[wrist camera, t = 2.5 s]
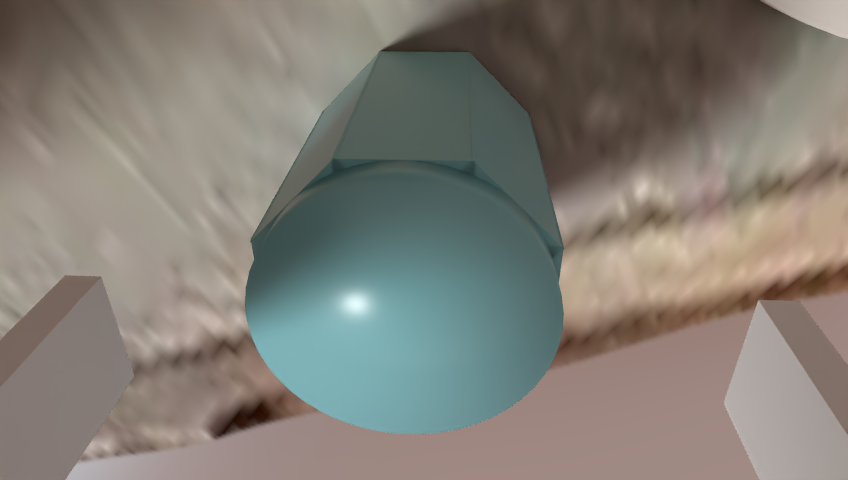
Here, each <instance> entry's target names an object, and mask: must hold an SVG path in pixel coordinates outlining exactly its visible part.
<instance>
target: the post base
mask: <svg viewBox="0 0 848 480" xmlns="http://www.w3.org/2000/svg"><path fill="white" fill-rule="evenodd" d="M760 1H762V2H763V3H765V4H767V5H768V6H770V7H772V8H774V9H776V10H778V11H780V12H782V13H784V14H786V15H788V16H790V17H793V18H795V19H797V20H799V21H801V22H803V23H805V24H808V25H810V26H813V27H816V28H818V29H821V30H823V31H826V32H828V33H831V34H834V35H836V36H839V37H842V38H847V39H848V0H760Z"/></svg>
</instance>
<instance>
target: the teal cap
mask: <svg viewBox="0 0 848 480" xmlns="http://www.w3.org/2000/svg"><path fill="white" fill-rule="evenodd" d="M250 242H251V243H252V249H253V255H254V262H253V264H252V267H251V269H250V272H249V276H248V281H247V285H246V296H245V307H246V316H247V322H248V326H249V329H250V333H251V336H252V339H253V341H254V343H255V345H256V348H257V350H258V352H259V353H260V355H261V357H262V358H263V360H264V361H265V363H266V365H267V366H268V367H269V368H270V370H271V371H272V372H273V373H274V375H275V376H276V377H277V378H278V379H279V380H280V381H281V382H282V383H283V384H284V385H285V386H286V387H287V388H288V389H289V390H290V391H291V392H293V393H294V394H295V395H297V396H298V397H299V398H301V399H302V400H303V401H305V402H306V403H308V404H310V405H311V406H313V407H314V408H316V409H318V410H319V411H321V412H323V413H325V414H328V415H330V416H332V417H334V418H336V419H339V420H341V421H344V422H347V423H349V424H352V425H356V426H359V427H363V428H367V429H371V430H377V431H382V432H388V433H399V434H429V433H439V432H445V431H451V430H456V429H461V428H464V427H468V426H471V425H474V424H477V423H480V422H482V421H485V420H487V419H489V418H492V417H494V416H496V415H498V414H499V413H501V412H503V411H505V410H507V409H508V408H510V407H511V406H513V405H514V404H515V403H517V402H518V401H520V400H521V399H522V398H523V397H524V396H525V395H527V394H528V393H529V392H530V391H531V390H532V389H533V388H534V387H535V386H536V385H537V383H538V382H539V381H540V380H541V378H542V377H543V376H544V375H545V373H546V371H547V370H548V368H549V367H550V365H551V363H552V362H553V359H554V357H555V354H556V352H557V350H558V347H559V344H560V339H561V335H562V331H563V315H564V313H563V304H562V296H561V291H560V287H559V277H560V269H561V262H562V254H563V250H564V246H563V242H562V238H561V234H560V230H559V227H558V223H557V219H556V215H555V211H554V207H553V203H552V200H551V196H550V192H549V188H548V184H547V180H546V176H545V173H544V169H543V165H542V161H541V157H540V153H539V149H538V146H537V142H536V138H535V134H534V130H533V126H532V122H531V119H530V115H529V113H527V112H526V110H525V109H524V108H523V107H522V106H521V105H520V104H519V103H518V102H517V101H516V100H515V99H514V98H513V97H512V96H511V95H510V94H509V93H508V92H507V91H506V89H505V88H504V87H503V86H502V85H501V84H500V83H499V82H498V81H497V80H496V79H495V78H494V77H493V76H492V75H491V74H490V73H489V72H488V71H487V70H486V68H485V67H484V66H483V65H482V64H481V63H480V62H479V61H478V60H477V59H476V58H475V57H474V56H473V55H472V54H471V52H401V51H379V53H378V54H377V55H376V56H375V58H374V59H373V60H372V61H371V62H370V63H369V64H368V65H367V66H366V67H365V68H364V69H363V70H362V71H361V72H360V73H359V74H358V75H357V77H356V78H355V79H354V80H353V81H352V82H351V83H350V84H349V85H348V86H347V87H346V88H345V89H344V90H343V91H342V92H341V93H340V94H339V96H338V97H337V98H336V99H335V100H334V101H333V102H332V103H331V104H330V105H329V106H328V107H327V108H326V109H325V110H323V112H322V114H321V116H320V117H319V119H318V121H317V123H316V124H315V126H314V128H313V130H312V132H311V133H310V135H309V137H308V139H307V140H306V142H305V144H304V146H303V147H302V149H301V151H300V153H299V155H298V156H297V158H296V160H295V162H294V163H293V165H292V167H291V169H290V171H289V172H288V174H287V176H286V178H285V179H284V181H283V183H282V185H281V187H280V188H279V190H278V192H277V194H276V195H275V197H274V199H273V201H272V203H271V204H270V206H269V208H268V210H267V211H266V213H265V215H264V217H263V219H262V220H261V222H260V224H259V226H258V227H257V229H256V231H255V233H254V234H253V236H252V238H251V241H250Z"/></svg>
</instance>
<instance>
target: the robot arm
mask: <svg viewBox="0 0 848 480" xmlns="http://www.w3.org/2000/svg"><path fill="white" fill-rule="evenodd" d="M133 378H134V373H133V370H132V367H131V364H130V361H129V358H128V355H127V352H126V349H125V346H124V343H123V340H122V338H121V335H120V332H119V329H118V326H117V323H116V320H115V317H114V314H113V311H112V308H111V305H110V302H109V299H108V296H107V293H106V290H105V287H104V284H103V281H102V278H101V277H95V276H66V275H65V276H64V277H63V278H62V279H61V280H60V281H59V282H58V283H57V284H56V285H55V286H54V287H53V288H52V289H51V290H50V291H49V292H48V293H47V294H46V295H45V296H44V297H43V298H42V299H41V300H40V301H39V302H38V303H37V304H36V305H35V306H34V307H33V308H32V309H31V310H30V311H29V312H28V313H27V314H26V315H25V316H24V317H23V318H22V319H21V320H20V321H19V322H18V323H17V324H16V325H15V326H14V327H13V328H12V329H11V330H10V331H9V332H8V333H7V334H6V335H5V336H4V337H3V338H2V339H1V340H0V480H65V479H66V478H67V476H68V475H69V473H70V472H71V470H72V469H73V467H74V466H75V464H76V463H77V461H78V460H79V458H80V457H81V455H82V454H83V452H84V451H85V449H86V448H87V446H88V445H89V443H90V442H91V440H92V439H93V437H94V436H95V434H96V433H97V431H98V430H99V428H100V427H101V425H102V424H103V422H104V421H105V419H106V418H107V416H108V415H109V413H110V412H111V410H112V409H113V407H114V406H115V404H116V403H117V401H118V400H119V398H120V397H121V396H122V394H123V393H124V391H125V390H126V388H127V387H128V385H129V384H130V382H131V381H132V379H133ZM724 405H725V407H726V409H727V411H728V414H729V416H730V418H731V420H732V422H733V424H734V426H735V428H736V431H737V433H738V435H739V437H740V439H741V441H742V443H743V446H744V448H745V450H746V452H747V454H748V456H749V458H750V461H751V463H752V465H753V467H754V469H755V472H756V473H757V476H758V478H759V480H848V365H847V364H846V362H845V361H844V360H843V358H842V357H841V356H840V354H839V353H838V352H837V350H836V349H835V348H834V347H833V345H832V344H831V342H830V341H829V340H828V338H827V337H826V336H825V334H824V333H823V332H822V330H821V329H820V328H819V326H818V325H817V324H816V323H815V321H814V320H813V318H812V317H811V316H810V314H809V313H808V312H807V310H806V309H805V308H804V307H803V305H802V304H801V302H800V301H773V300H758V303H757V306H756V309H755V312H754V315H753V318H752V321H751V324H750V327H749V330H748V333H747V336H746V338H745V341H744V345H743V348H742V350H741V353H740V356H739V359H738V362H737V365H736V368H735V371H734V374H733V377H732V380H731V383H730V386H729V389H728V392H727V395H726V398H725V401H724Z"/></svg>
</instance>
